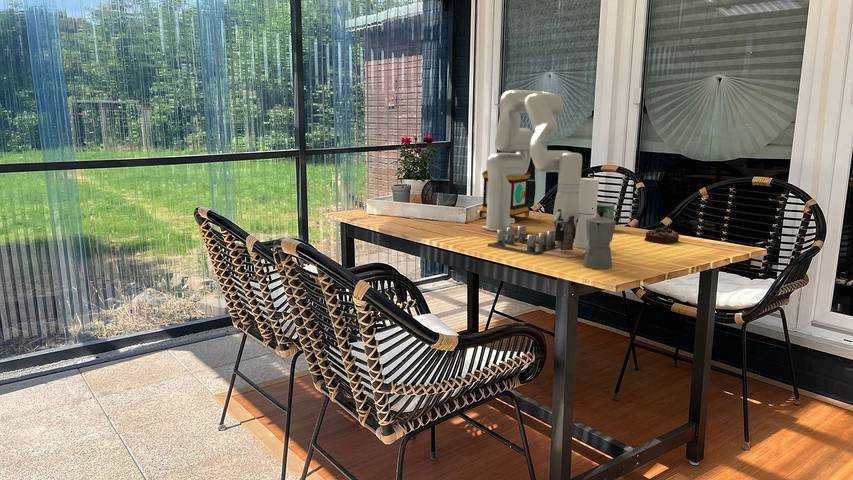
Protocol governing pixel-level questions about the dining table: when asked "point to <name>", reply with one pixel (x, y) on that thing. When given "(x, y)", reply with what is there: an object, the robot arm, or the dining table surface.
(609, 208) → the canned tomato
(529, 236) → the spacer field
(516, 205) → the decorative lantern
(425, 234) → the dining table surface
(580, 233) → the white tall block
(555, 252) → the mat
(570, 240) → the box
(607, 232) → the coffeepot
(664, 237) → the pastry
